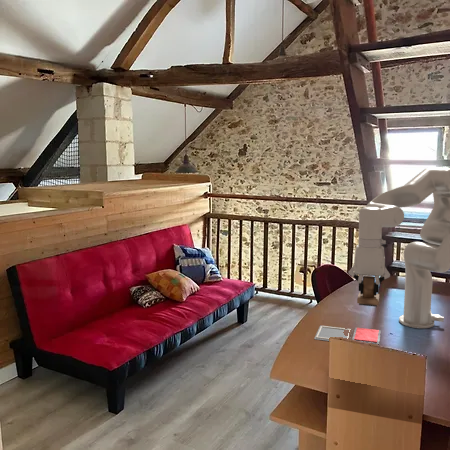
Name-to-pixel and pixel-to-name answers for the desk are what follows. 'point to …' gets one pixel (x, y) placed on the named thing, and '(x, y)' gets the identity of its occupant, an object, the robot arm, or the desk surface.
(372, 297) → the stamp
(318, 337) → the board
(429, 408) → the desk surface
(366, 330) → the ink pad
